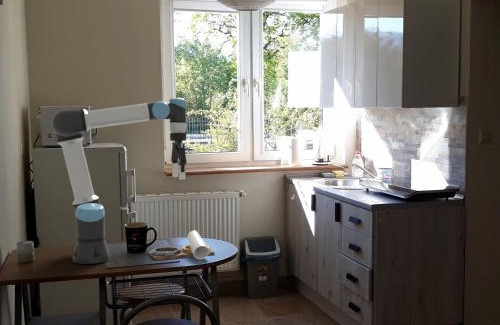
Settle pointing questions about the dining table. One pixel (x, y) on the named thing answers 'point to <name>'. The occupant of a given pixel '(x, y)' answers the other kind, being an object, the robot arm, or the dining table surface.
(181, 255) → the walnut board
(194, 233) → the drinking glass
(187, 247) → the far collar
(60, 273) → the dining table surface
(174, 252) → the near collar
